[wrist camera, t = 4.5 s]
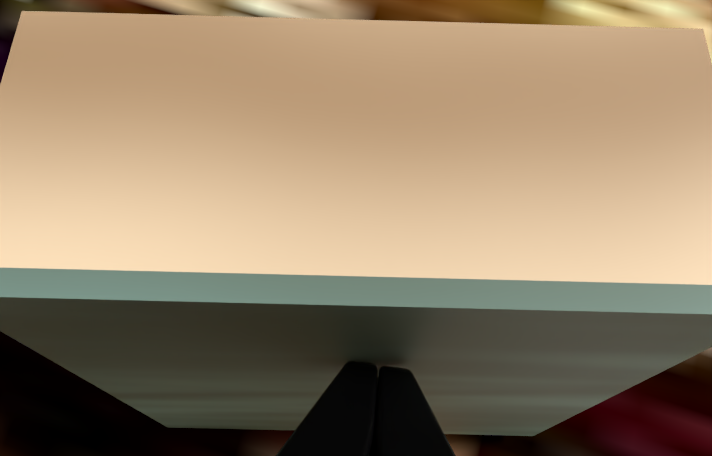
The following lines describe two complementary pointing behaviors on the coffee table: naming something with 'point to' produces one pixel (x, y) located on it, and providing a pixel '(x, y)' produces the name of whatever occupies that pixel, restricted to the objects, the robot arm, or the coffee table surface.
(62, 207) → the tile
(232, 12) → the coffee table surface
